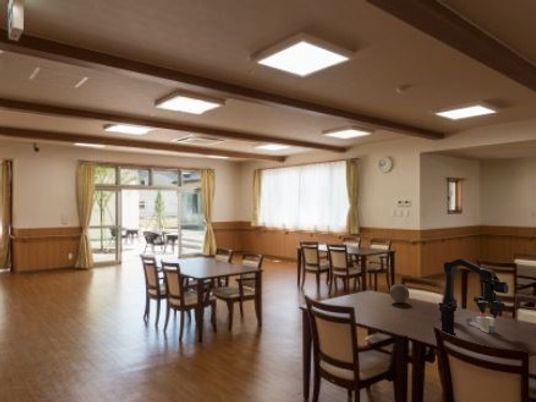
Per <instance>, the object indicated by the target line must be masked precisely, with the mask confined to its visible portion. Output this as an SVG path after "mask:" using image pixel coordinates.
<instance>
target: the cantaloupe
mask: <svg viewBox="0 0 536 402" xmlns="http://www.w3.org/2000/svg"><path fill="white" fill-rule="evenodd" d="M389 295H390V297H391V299H392V300H393V301H394V302H395V303H398V304H403V303H406V302H407V301H408V300H409V298H410V291H409V288H407V286H406V285H404V284H402V283H396V284H393V285H392V286H391V287H390V289H389Z"/></svg>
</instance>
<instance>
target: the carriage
mask: <svg viewBox="0 0 536 402" xmlns="http://www.w3.org/2000/svg"><path fill="white" fill-rule="evenodd" d="M480 325H481V329H480V331H482V332H484V333H487V334H490V326H495V327H496V318H494V317H491V316H484V317H481V324H480Z"/></svg>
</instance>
